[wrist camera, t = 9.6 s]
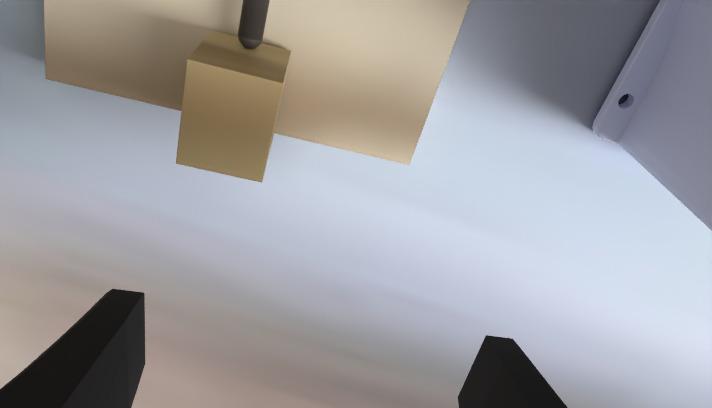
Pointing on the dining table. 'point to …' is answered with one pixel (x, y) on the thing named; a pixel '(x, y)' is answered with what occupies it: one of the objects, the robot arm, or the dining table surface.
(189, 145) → the block with dark rod
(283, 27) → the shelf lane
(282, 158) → the dining table surface
